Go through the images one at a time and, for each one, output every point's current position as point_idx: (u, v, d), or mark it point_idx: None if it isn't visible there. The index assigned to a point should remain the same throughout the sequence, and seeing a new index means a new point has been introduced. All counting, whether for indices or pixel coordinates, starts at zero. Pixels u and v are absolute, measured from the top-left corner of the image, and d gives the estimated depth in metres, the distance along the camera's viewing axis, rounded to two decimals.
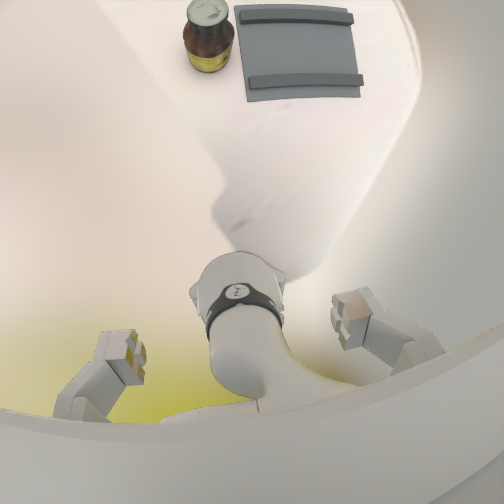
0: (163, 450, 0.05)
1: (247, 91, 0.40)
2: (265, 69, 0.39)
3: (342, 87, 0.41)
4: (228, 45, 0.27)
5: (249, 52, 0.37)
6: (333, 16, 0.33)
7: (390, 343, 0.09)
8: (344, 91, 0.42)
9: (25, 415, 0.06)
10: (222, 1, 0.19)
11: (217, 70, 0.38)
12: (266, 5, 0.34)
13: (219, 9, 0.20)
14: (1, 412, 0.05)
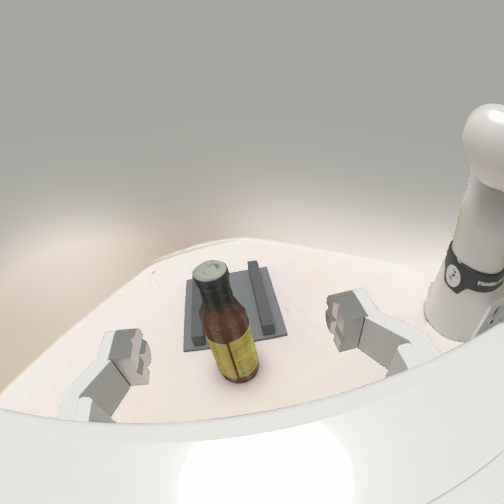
0: (163, 450, 0.05)
1: (276, 335, 0.48)
2: (253, 324, 0.50)
3: (261, 277, 0.61)
4: None
5: None
6: None
7: (385, 345, 0.09)
8: (264, 275, 0.62)
9: (25, 415, 0.06)
10: (202, 263, 0.34)
11: None
12: (185, 328, 0.51)
13: (210, 263, 0.33)
14: (1, 412, 0.05)
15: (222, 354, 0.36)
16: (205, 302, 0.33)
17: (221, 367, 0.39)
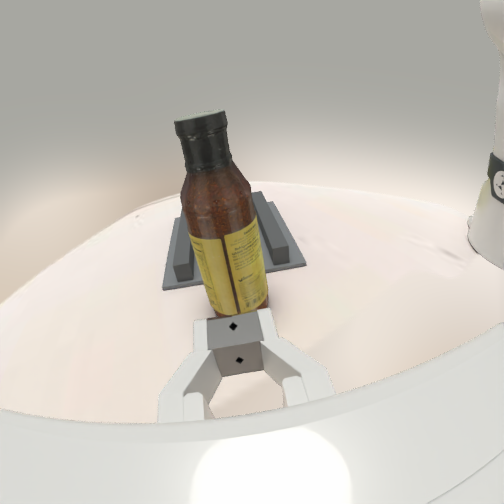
0: (163, 450, 0.05)
1: (292, 264, 0.35)
2: None
3: None
4: None
5: None
6: None
7: (283, 373, 0.09)
8: (271, 208, 0.49)
9: (25, 415, 0.06)
10: (189, 115, 0.21)
11: None
12: (168, 263, 0.39)
13: (201, 112, 0.21)
14: (1, 412, 0.05)
15: (214, 264, 0.24)
16: (190, 164, 0.21)
17: (213, 295, 0.27)
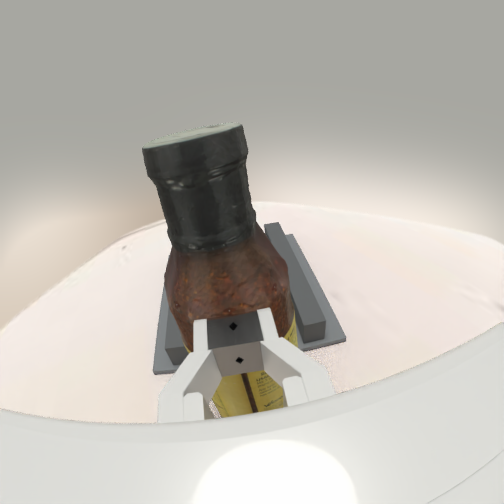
0: (163, 450, 0.05)
1: (327, 341, 0.25)
2: None
3: None
4: None
5: None
6: None
7: (283, 373, 0.09)
8: (291, 246, 0.39)
9: (25, 415, 0.06)
10: None
11: None
12: (159, 330, 0.28)
13: (196, 129, 0.11)
14: (1, 412, 0.05)
15: (226, 390, 0.14)
16: (175, 235, 0.11)
17: (224, 413, 0.16)
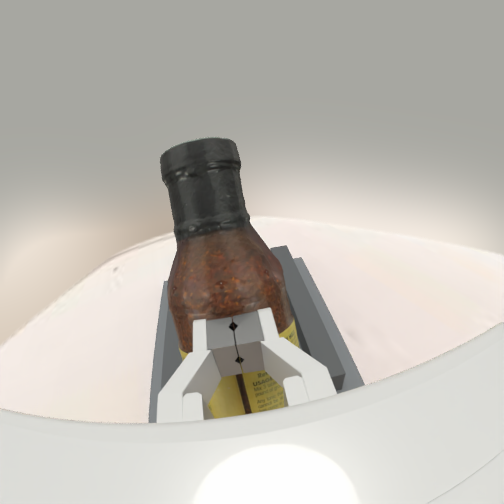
0: (163, 450, 0.05)
1: None
2: None
3: None
4: None
5: None
6: None
7: (283, 372, 0.09)
8: (300, 272, 0.34)
9: (25, 415, 0.06)
10: None
11: None
12: (154, 375, 0.24)
13: None
14: (1, 412, 0.05)
15: (220, 401, 0.12)
16: (179, 223, 0.13)
17: None
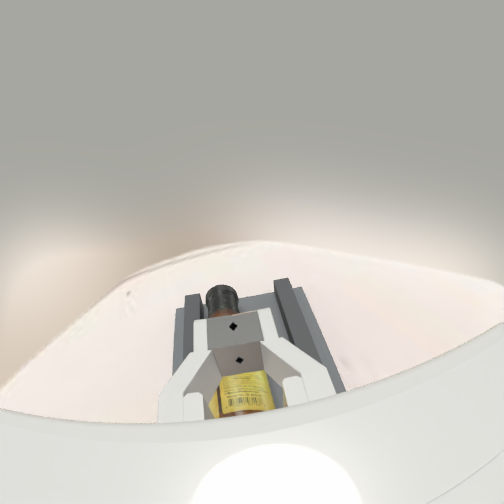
0: (163, 450, 0.05)
1: None
2: None
3: None
4: None
5: None
6: (192, 313, 0.35)
7: (283, 373, 0.09)
8: (300, 302, 0.38)
9: (25, 415, 0.06)
10: None
11: None
12: None
13: None
14: (1, 412, 0.05)
15: None
16: (208, 314, 0.33)
17: None
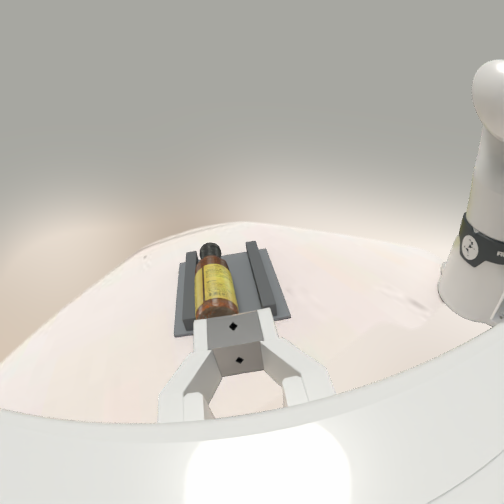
0: (163, 450, 0.05)
1: (279, 317, 0.43)
2: (252, 306, 0.45)
3: (260, 258, 0.57)
4: None
5: None
6: (191, 262, 0.54)
7: (283, 373, 0.09)
8: (264, 257, 0.57)
9: (25, 415, 0.06)
10: None
11: None
12: (177, 311, 0.46)
13: None
14: (1, 412, 0.05)
15: (197, 280, 0.44)
16: None
17: (195, 302, 0.41)
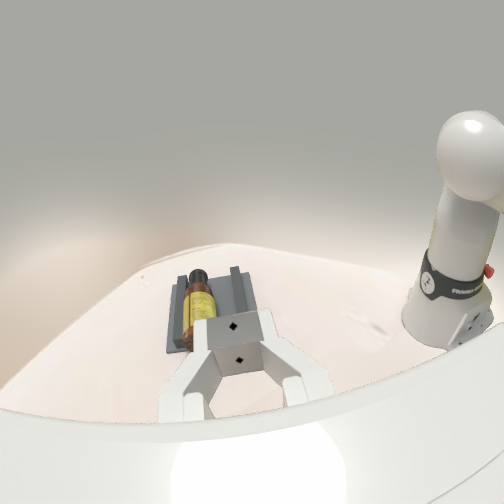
0: (163, 450, 0.05)
1: None
2: None
3: (242, 282, 0.64)
4: None
5: None
6: (181, 285, 0.61)
7: (283, 373, 0.09)
8: (246, 281, 0.64)
9: (25, 415, 0.06)
10: None
11: None
12: (169, 330, 0.53)
13: None
14: (1, 412, 0.05)
15: (185, 306, 0.51)
16: None
17: (183, 326, 0.48)
